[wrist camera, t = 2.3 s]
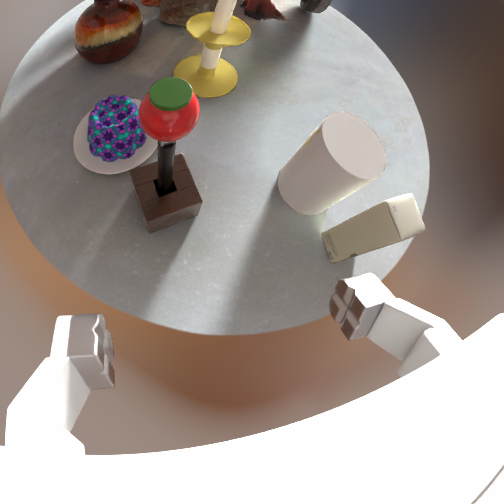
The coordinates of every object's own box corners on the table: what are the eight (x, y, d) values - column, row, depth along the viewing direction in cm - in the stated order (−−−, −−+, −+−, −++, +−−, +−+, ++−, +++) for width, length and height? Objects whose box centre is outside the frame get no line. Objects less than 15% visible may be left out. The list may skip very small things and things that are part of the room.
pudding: (93, 194, 30) (82, 175, 25) (63, 127, 30) (54, 104, 25) (178, 148, 34) (182, 124, 29) (140, 89, 34) (139, 64, 29)
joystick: (186, 210, 33) (214, 107, 15) (154, 222, 31) (146, 125, 14) (174, 181, 33) (192, 64, 15) (143, 192, 31) (131, 78, 14)
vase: (86, 80, 31) (72, 0, 17) (72, 47, 32) (62, -22, 17) (151, 55, 35) (159, -24, 21) (130, 25, 35) (134, -43, 21)
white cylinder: (320, 158, 40) (368, 114, 28) (338, 210, 39) (396, 177, 27) (270, 161, 37) (311, 109, 26) (287, 219, 36) (339, 182, 25)
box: (330, 264, 37) (399, 243, 25) (318, 232, 37) (383, 200, 25) (359, 252, 38) (428, 230, 26) (348, 223, 39) (413, 191, 27)
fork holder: (197, 215, 33) (202, 201, 29) (149, 233, 31) (146, 222, 27) (179, 171, 33) (182, 153, 29) (133, 187, 31) (129, 170, 27)
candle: (247, 70, 39) (316, -67, 14) (221, 107, 37) (295, -63, 11) (192, 48, 38) (233, -92, 12) (160, 83, 35) (188, -87, 9)
